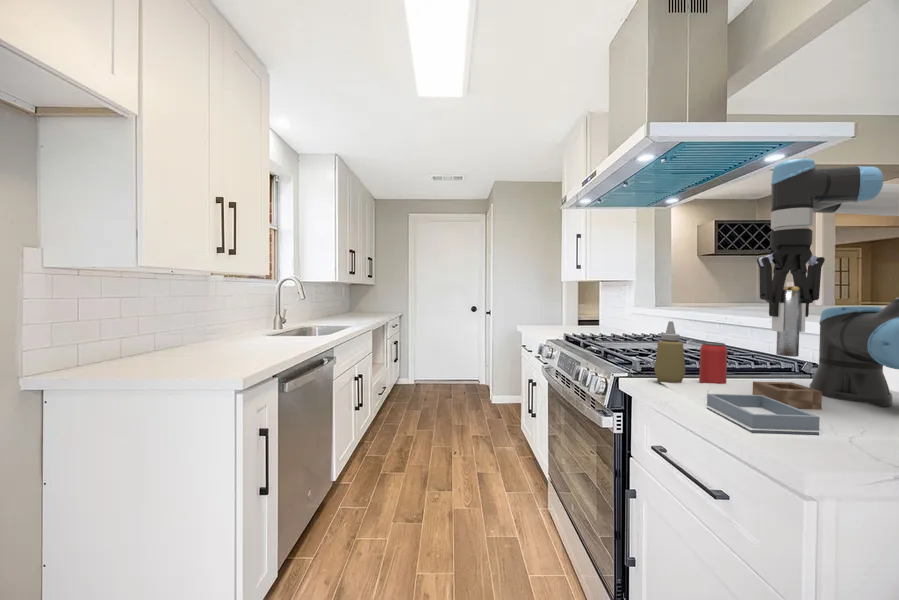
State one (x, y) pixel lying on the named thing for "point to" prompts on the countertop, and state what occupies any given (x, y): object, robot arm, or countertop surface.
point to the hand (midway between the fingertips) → (788, 330)
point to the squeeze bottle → (670, 357)
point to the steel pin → (789, 323)
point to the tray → (784, 419)
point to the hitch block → (790, 394)
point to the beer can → (713, 363)
